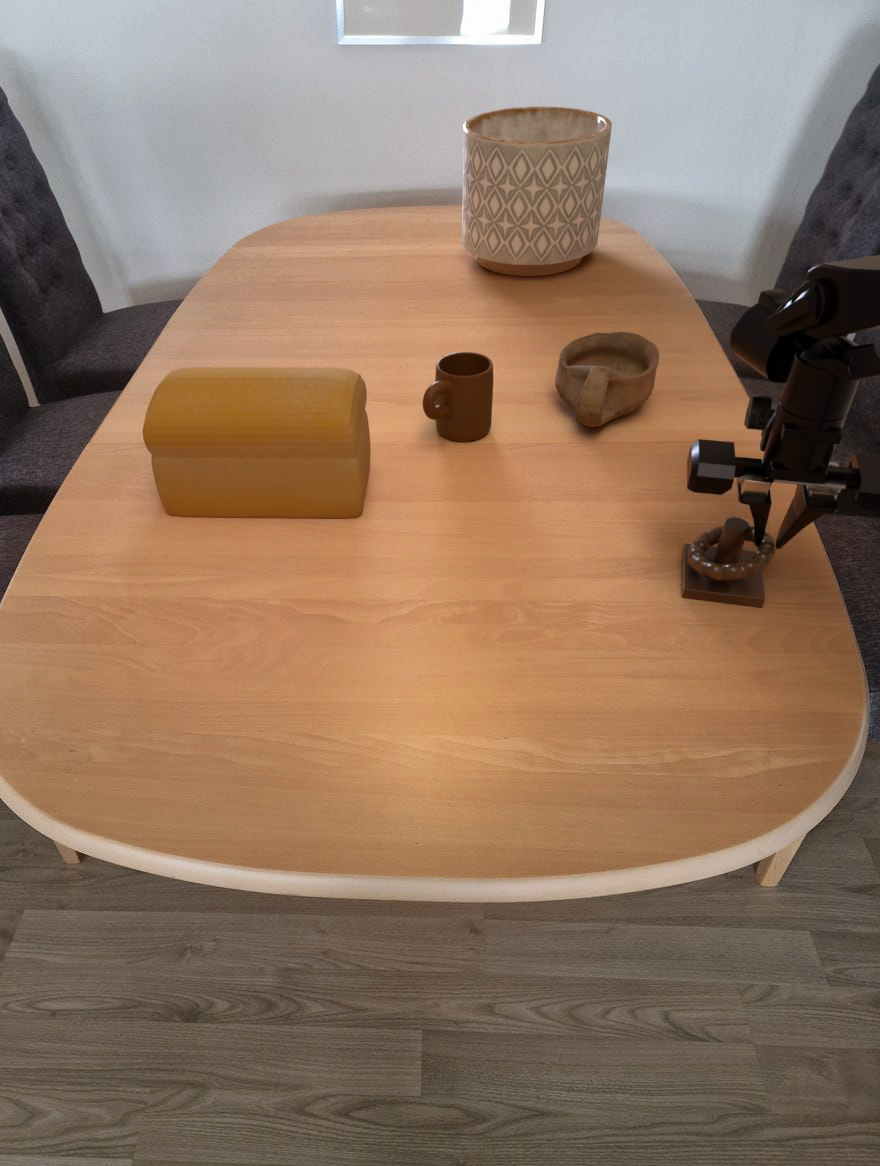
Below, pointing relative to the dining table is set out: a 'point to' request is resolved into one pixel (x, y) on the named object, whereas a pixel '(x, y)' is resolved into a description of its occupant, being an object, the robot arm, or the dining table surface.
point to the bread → (260, 442)
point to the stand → (726, 553)
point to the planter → (533, 188)
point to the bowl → (606, 375)
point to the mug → (461, 396)
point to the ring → (729, 570)
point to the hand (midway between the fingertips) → (767, 545)
